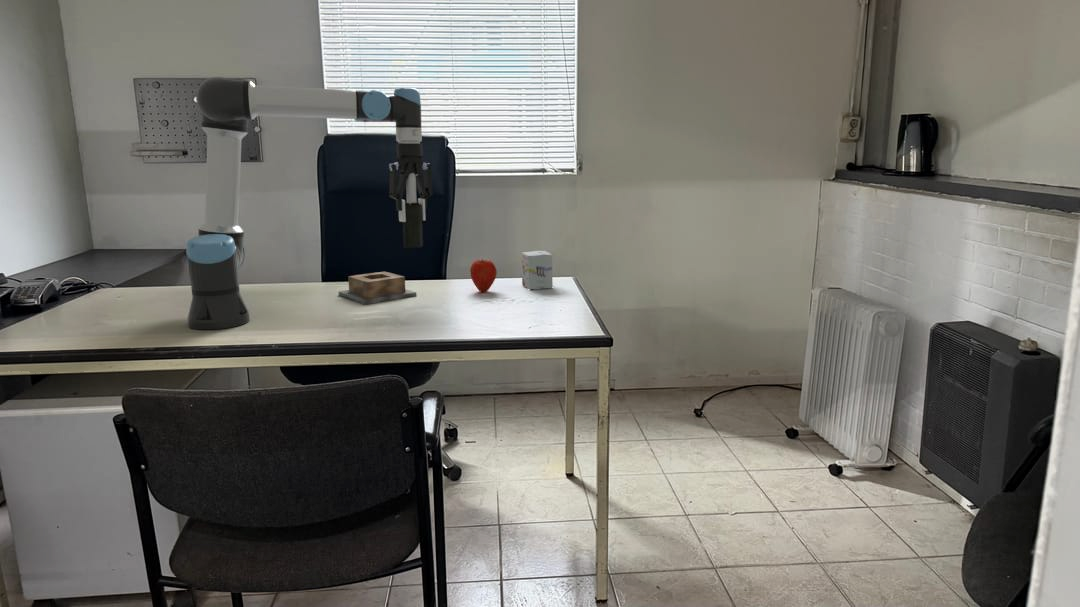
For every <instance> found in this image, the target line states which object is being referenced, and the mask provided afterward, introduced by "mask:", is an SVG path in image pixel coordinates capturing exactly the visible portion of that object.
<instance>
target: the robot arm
mask: <svg viewBox="0 0 1080 607" xmlns="http://www.w3.org/2000/svg"><path fill="white" fill-rule="evenodd" d="M195 100H196V103H197V106H198V109H199V111H201V129H202V130H203V132H204V133H206V135H207V136H206V137H207V138H206V140H207V141H206V170H205V171H206V173H205V174H206V175H205V176H206V177H205V201H204V205H205V206H204V208H205V209H204V210H205V211H204V222H203V224H201V225H199V227H198V234H197V235H198V236H194V237H192V238H190V239H189V240H187V242H186V249H185V250H186V251H185V253H186V257H187V263H188V264H187V265H188V270H189V272H188V274H189V279H190V289H191V295H192V296H191V297H192V298H191V302H190V306H189V310H188V315H187V324H188V327H189V328H190V329H193V330H194V329H195V330H206V331H207V330H210V331H211V330H221V329H228V328H229V329H230V328H233V327H234V328H235V327H237V326H238V327H239V326H241V325H245V324H246V323H248V322H250V321H251V320H250V312H249V310H248V309H249V308H247V305H246V304H245V300H244V299H243V297H242V294H241V291H240V284H239V283H240V281H239V271H238V270H240V268H241V267H242V265H243V264H244V262H245V258H246V257H245V256H246V251H245V247H244V234H245V232H244V230H245V229H243V228H242V227H241V226H240V225H239V216H240V215H239V214H240V212H239V211H240V187H241V186H240V185H241V182H240V181H241V164H242V163H241V161H242V159H241V158H242V140H243V139H244V137H246V136H247V135H248V133H249V132H248V131H249V120H251V121H252V120H253V121H254V120H255V118H257V117H284V118H285V117H286V118H287V117H288V118H307V119H308V118H311V119H312V118H313V119H314V118H317V119H337V120H338V119H342V120H343V119H344V120H354V121H356V122H363V123H368V122H369V123H370V122H371V123H372V122H373V123H376V122H377V123H381V122H384V123H385V122H391V123H395V141H396V142H398V143H396V155H397V156H396V157H397V160H396V162H394V163H388V165H387V166H388V167H387V168H388V171H389V196H388V197H390V198H392V199H394V200H395V209H396V211H398V221H399V222H400V223H401V222H402V223H403V222H406V215H405V202H406V200H405V199H403V196H404V193H405V191H406V181H407V178H408V177H409V175H410V174H411V173H414V174H415V175H416V189H417V190H418V194H419V197H420V198H417V202H419V204H421V206H422V222H423V221H426V210H427V209H428V200H429V197H432V196H433V194H434V193H433V182H432V174H431V171H432V166H433V165H432V163H430V162H428V163H427V162H425V161H424V160H423V145H422V143H421V142H422V141H423V138H422V137H423V135H422V134H423V133H422V104H421V103H422V102H421V93H420V91H419V90H418V89H417V88H414V87H412V88H411V87H398V88H395V89H394V91H393V94H391V95H387V94H385V93H384V92H383V91H381V90H378V89H377V90H376V89H372V90H354V89H335V88H334V89H333V88H317V87H316V88H315V87H313V88H312V87H298V86H297V87H295V86H294V87H293V86H292V87H291V86H275V85H273V86H272V85H256V84H255V83H254V82H253V81H251V80H241V79H240V80H239V79H231V78H228V77H224V76H214V77H209V78H207V79H205V80H204V81H203V82H202V83H201V84H200V85H199V87H198V88H197V91H196V97H195ZM398 169H399V175H398ZM421 169H422V170H421ZM422 176H423V177H422ZM398 177H399V178H398Z"/></svg>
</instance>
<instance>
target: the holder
mask: <svg viewBox="0 0 1080 607" xmlns="http://www.w3.org/2000/svg"><path fill="white" fill-rule="evenodd" d="M347 277H348V278H347V279H348V280H347V281H348V289H347V290H346V289H345V290H340V291H338V296H339V297H342V296H343V298H345V297H346V299H348V298H349V299H348V300H350V301H354V302H356V303H359V302H360V304H362V303H363V305H370V303H371V304H377V303H382V302H381V301H383V302H388V301H387V300H389V301H394V300H393V299H395V300H399V299H398V298H401V299H405V298H404V297H407V298H411V297H410V296H413V297H417V296H418V295H417V292H416V291H413V290H410V289H407V288H406V277H405V276H404V275H400V274H396V273H392V272H388V271H380V272H369V273H363V274H354V275H349V276H347ZM416 295H417V296H416ZM376 302H377V303H376Z"/></svg>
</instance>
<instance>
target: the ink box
mask: <svg viewBox="0 0 1080 607" xmlns="http://www.w3.org/2000/svg"><path fill="white" fill-rule="evenodd" d="M521 264H522V265H521V272H522V273H521V277H522V279H521V280H522V282H521V283H522V284H521V286H522V285H524V286H525V287H527V288H528V289H535V290H541V289H540V288H548V289H553V288H554V286H553V254H552V253H550V252H548V251H547V250H534V251H523V252H521ZM524 286H523V287H524ZM525 287H524V288H525ZM552 287H553V288H552ZM527 288H526V289H527ZM528 289H527V290H528Z"/></svg>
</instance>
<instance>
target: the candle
mask: <svg viewBox="0 0 1080 607" xmlns="http://www.w3.org/2000/svg"><path fill="white" fill-rule="evenodd" d="M405 191H406V201H405V215H406V222H402V233H403V234H402V235H403V248H404V249H405V248H406V249H407V248H408V249H409V248H410V249H411V248H412V249H413V248H414V249H416V248H417V249H419V248H422V247H423V246H424V238H423V220H422V206H421V204H419V202H418V198H417V185H416V175H415V174H414V173H411V174H410V175H409V177H408V178H407V181H406V185H405Z"/></svg>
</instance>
